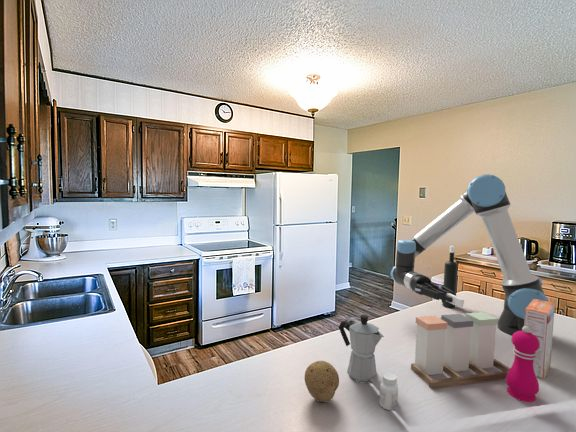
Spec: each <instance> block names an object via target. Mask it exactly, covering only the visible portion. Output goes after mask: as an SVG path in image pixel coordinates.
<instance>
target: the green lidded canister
mask: <svg viewBox="0 0 576 432" xmlns="http://www.w3.org/2000/svg"><path fill="white" fill-rule="evenodd" d="M465 317H467V318H469V319H471V320H473V327H471V340H470V355H469V361H470V362H472V363H473V364H475V365H476V366H478V367H479V368H481V369H482V370H484V369H491V368H494V366H493V361H494V359H495V358H494V357H495V346H496V345H495V344H496V329H497V324H498V320H499V318H498V317H496V316H493V315H491V314H489V313H486V312H484V311H481V312H480V311H479V312H467V313H465Z"/></svg>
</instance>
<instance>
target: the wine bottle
mask: <svg viewBox="0 0 576 432" xmlns="http://www.w3.org/2000/svg"><path fill="white" fill-rule="evenodd" d="M455 252H456V245H452V244H451V245H449V260H447V261H445V263H444V267H443V268H444V269H443V270H444V273H443V285H445V287H447V288H448V289H450V290H452V291H453V292H455V296H457V288H458V269H459V268H458V267H459V264H458V263H457V262H456V261H455ZM441 303H442V304H441V305H442V307H444V308H448V309H455V308H456V306H455V305H453V304H451V303H449V302H447V301H446V300H445V303H443V302H442V301H441Z"/></svg>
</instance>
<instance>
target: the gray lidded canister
mask: <svg viewBox="0 0 576 432" xmlns="http://www.w3.org/2000/svg"><path fill="white" fill-rule="evenodd" d="M440 319H442V320H443V321H445V322H447V323H448V324H447V329H446V330H445V346H444V364H445V365H447V366H448V367H449V368H451V369H452V370H453V371H455V372H456V373H457V372H458V373H459V372H463V371H464V372H465V371H469V370H470V369H469V355H470V340H471V327H473V320H471V319H469V318H467V317H466V315H463V314H462V313H453V314H452V313H451V314H441V317H440Z"/></svg>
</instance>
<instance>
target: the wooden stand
mask: <svg viewBox="0 0 576 432" xmlns="http://www.w3.org/2000/svg"><path fill="white" fill-rule="evenodd" d="M493 367H495V368H496V369H498V370H499V371H495V372H493V371H492V372H487V371H485V370H484V369H481V368H479V367H478V366H476V365H475V364H473V363H472V362H470V361H469V370H470V371H472V372H473V373H475V374H472V375H462V376H461V375H460V374H459V373H457V372H455V371H453V370H452V369H451V368H449V367H448V366H447V365H445V364H444V363H443V373H445V374H446V375H447V376H449V378H448V377H447V378H440V379H434V378H432V376H431V375H427V374H426V373H425V372H424V371H423V370H421V369H420V368H419V367H418V366H417V365H416V364H415V362H414V363H412V362H411V364H410V370H411V371H412V372H413V373H414V374H416V375H417V376H418V377H419V378H420V379H421V380H423V382H424V383H426V384H427V385H428V387H429V389H430V390H433V389H441V388H448V387H456V386H463V385H468V384H469V385H470V384H477V383H484V382H492V381H500V380H506V375H507V373H508V371H509V370H510V368H511V367H509V366H508V365H506V364H504V363H502V362H501V361H499V360H497V359H496V358H494V361H493Z"/></svg>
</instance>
